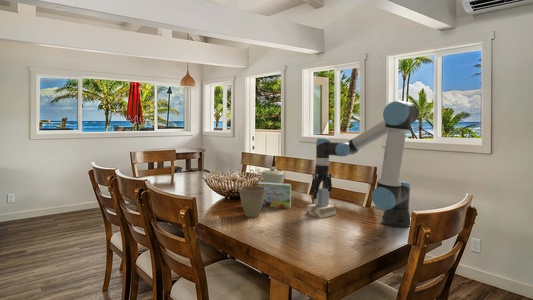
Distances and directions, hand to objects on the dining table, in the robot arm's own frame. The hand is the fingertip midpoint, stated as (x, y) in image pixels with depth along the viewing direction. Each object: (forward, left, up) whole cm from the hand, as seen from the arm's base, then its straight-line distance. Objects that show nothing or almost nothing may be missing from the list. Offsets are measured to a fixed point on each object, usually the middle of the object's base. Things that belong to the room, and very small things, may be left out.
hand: (321, 203), depth 201 cm
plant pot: (+21, +35, -7) cm, 41 cm away
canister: (+56, -10, -7) cm, 58 cm away
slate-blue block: (0, 0, -2) cm, 2 cm away
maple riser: (0, 0, -7) cm, 7 cm away
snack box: (+30, +11, -7) cm, 33 cm away
